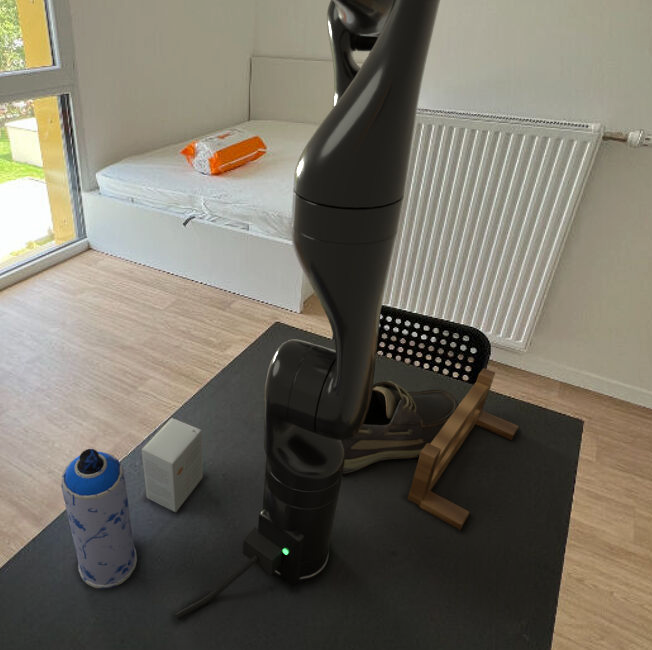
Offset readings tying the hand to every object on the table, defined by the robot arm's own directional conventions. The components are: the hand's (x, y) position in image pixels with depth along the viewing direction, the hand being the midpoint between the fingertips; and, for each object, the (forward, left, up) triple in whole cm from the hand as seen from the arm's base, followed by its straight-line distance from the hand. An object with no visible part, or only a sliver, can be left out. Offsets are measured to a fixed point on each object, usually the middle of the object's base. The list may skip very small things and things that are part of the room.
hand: (337, 273), depth 81 cm
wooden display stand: (+6, -24, -29) cm, 38 cm away
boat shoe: (+2, -12, -29) cm, 32 cm away
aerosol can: (-44, +6, -29) cm, 53 cm away
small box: (-29, +8, -29) cm, 42 cm away
